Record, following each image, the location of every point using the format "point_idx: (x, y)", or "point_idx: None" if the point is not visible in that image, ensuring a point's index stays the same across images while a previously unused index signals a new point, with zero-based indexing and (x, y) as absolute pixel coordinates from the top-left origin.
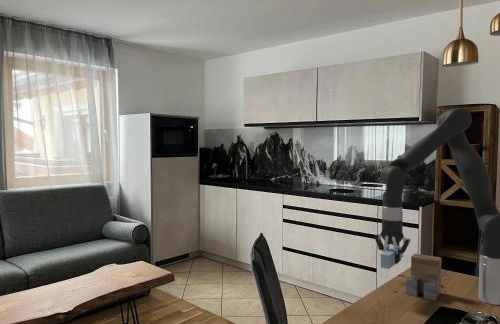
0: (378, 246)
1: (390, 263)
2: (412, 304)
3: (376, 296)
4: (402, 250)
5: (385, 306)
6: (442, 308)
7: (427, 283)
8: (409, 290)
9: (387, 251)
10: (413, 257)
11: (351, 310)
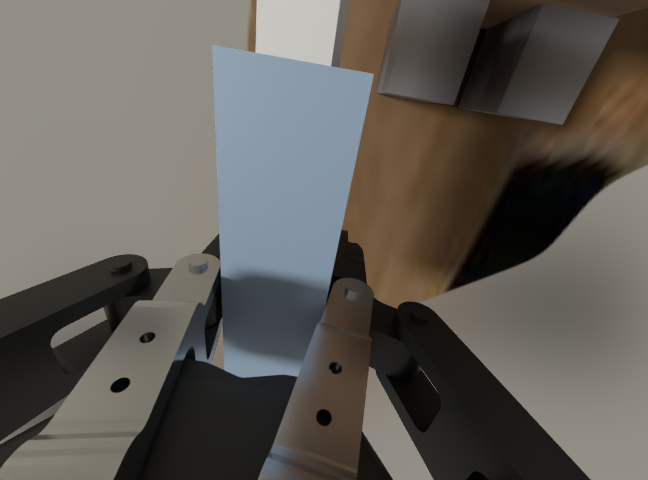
0: (94, 343)
1: None
2: (405, 200)
3: None
4: (408, 394)
5: None
6: (521, 183)
7: (518, 114)
8: (396, 96)
9: (244, 367)
10: None
11: None
